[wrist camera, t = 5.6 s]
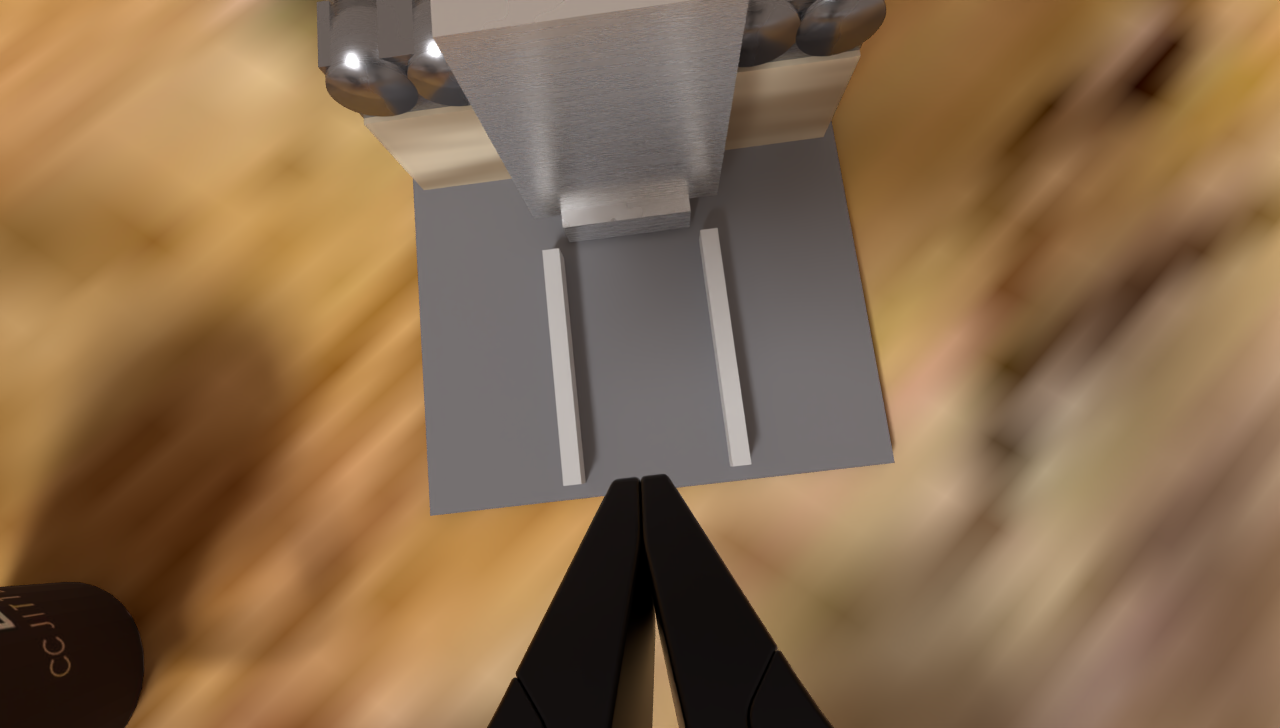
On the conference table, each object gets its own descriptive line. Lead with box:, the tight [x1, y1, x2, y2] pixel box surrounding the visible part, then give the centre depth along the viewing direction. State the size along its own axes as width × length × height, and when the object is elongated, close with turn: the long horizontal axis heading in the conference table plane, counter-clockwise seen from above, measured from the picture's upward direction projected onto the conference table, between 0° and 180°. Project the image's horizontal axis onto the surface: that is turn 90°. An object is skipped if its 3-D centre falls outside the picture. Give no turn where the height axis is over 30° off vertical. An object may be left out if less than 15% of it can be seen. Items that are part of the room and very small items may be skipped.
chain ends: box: [317, 0, 886, 118], centre depth 17 cm, size 2×16×3 cm, turn 97°
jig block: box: [364, 50, 861, 190], centre depth 21 cm, size 2×15×4 cm, turn 97°
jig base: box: [413, 121, 895, 516], centre depth 22 cm, size 15×16×2 cm
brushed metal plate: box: [430, 0, 749, 242], centre depth 17 cm, size 6×6×10 cm
